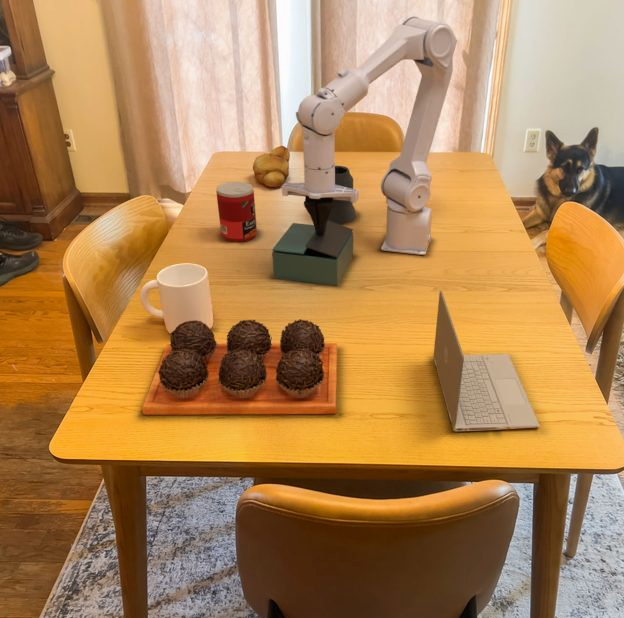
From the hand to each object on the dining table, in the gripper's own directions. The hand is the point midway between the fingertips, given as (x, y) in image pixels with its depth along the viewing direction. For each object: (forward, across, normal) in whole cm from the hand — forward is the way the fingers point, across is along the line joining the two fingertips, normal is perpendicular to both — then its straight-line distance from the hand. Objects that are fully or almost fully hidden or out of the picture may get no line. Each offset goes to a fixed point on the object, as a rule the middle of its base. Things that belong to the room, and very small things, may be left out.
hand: (320, 232), depth 132 cm
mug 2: (+8, -4, +28) cm, 29 cm away
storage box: (+8, -2, 0) cm, 8 cm away
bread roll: (+3, -26, +44) cm, 51 cm away
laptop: (+8, +35, -34) cm, 49 cm away
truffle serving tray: (+8, -1, -40) cm, 40 cm away
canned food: (+8, -22, +10) cm, 26 cm away
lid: (+1, +2, 0) cm, 2 cm away
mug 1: (+8, -18, -28) cm, 34 cm away
